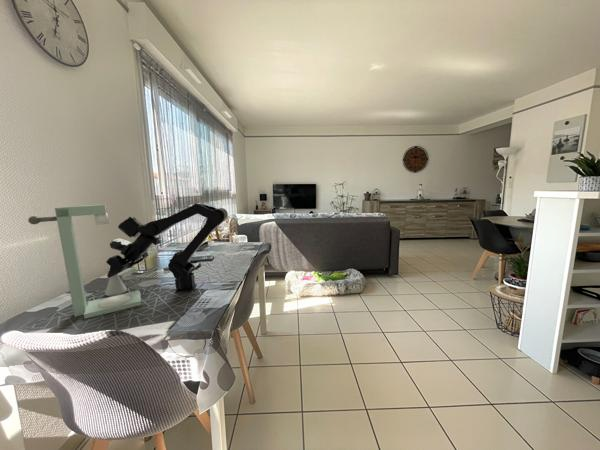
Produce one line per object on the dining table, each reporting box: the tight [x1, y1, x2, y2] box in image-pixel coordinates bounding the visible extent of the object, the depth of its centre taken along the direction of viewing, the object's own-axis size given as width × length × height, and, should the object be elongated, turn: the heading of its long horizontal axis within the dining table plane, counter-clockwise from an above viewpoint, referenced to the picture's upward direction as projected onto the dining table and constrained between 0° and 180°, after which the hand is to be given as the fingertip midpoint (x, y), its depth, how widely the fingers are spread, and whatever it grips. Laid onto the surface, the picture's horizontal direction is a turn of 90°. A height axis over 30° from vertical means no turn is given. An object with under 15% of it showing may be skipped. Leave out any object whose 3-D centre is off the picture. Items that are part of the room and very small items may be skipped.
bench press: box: [27, 204, 142, 320], centre depth 87 cm, size 26×12×36 cm, turn 124°
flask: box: [104, 269, 128, 297], centre depth 104 cm, size 7×7×10 cm
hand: (116, 273), depth 103 cm, fingers open, 9 cm apart
